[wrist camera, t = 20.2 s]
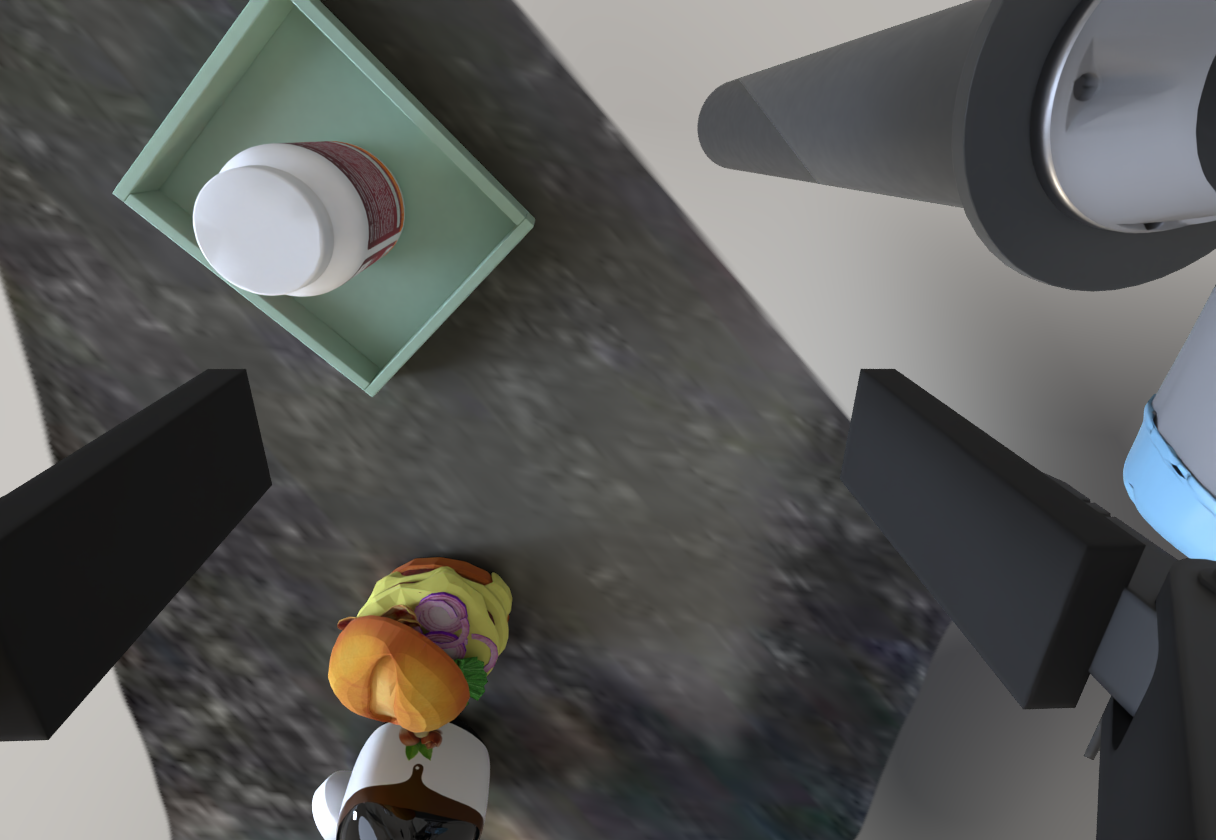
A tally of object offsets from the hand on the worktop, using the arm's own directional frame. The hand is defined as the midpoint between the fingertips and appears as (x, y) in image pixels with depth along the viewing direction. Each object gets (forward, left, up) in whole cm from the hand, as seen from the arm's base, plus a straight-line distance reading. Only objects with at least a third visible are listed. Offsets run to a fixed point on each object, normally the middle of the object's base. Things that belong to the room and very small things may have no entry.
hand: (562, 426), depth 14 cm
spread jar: (-19, +37, -24) cm, 49 cm away
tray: (+10, +6, -24) cm, 27 cm away
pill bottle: (+9, +6, -24) cm, 26 cm away
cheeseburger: (-11, +24, -24) cm, 36 cm away
